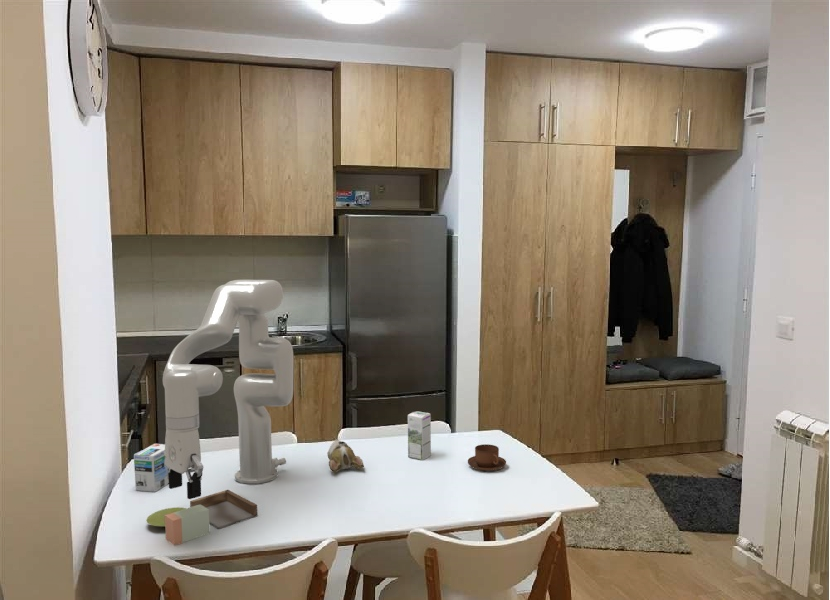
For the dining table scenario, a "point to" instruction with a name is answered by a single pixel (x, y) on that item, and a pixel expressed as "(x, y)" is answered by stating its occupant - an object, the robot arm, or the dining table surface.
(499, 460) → the cup and saucer
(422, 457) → the syrup box
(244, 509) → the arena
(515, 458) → the dining table surface
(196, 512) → the peach green box
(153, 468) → the light bulb box
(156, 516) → the green flat disc
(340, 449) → the ceramic sculpture
